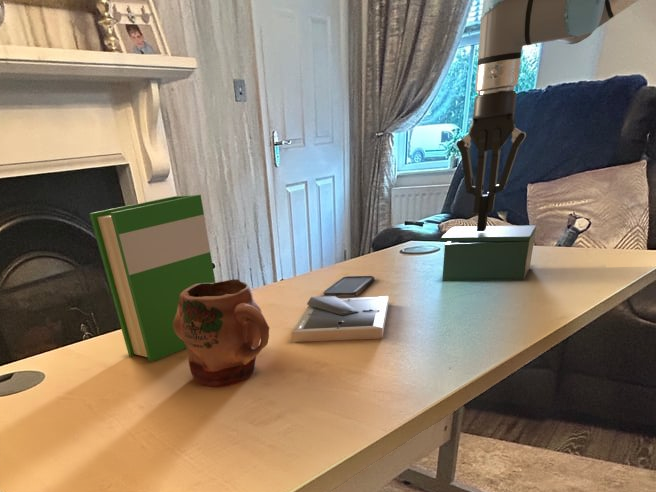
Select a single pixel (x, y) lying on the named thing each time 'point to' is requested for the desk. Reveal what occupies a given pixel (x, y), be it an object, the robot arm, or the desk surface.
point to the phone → (349, 286)
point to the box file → (487, 260)
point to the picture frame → (342, 319)
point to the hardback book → (153, 267)
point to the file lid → (489, 233)
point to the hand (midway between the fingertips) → (481, 230)
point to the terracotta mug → (221, 331)
